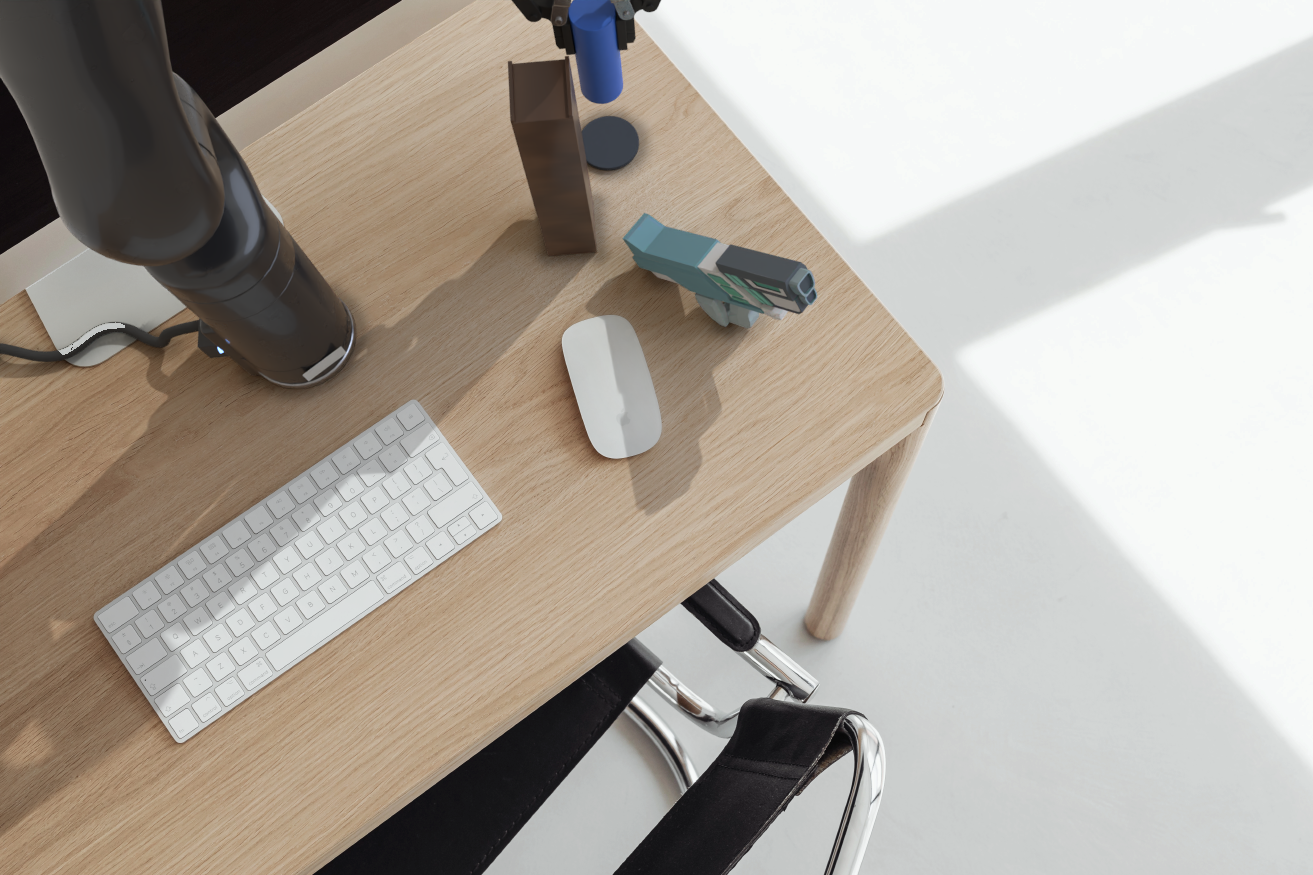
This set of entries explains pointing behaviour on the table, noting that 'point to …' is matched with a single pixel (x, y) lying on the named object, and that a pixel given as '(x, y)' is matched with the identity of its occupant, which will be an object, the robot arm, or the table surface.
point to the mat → (610, 142)
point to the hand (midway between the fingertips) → (596, 43)
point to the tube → (596, 49)
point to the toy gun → (722, 273)
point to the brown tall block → (553, 153)
